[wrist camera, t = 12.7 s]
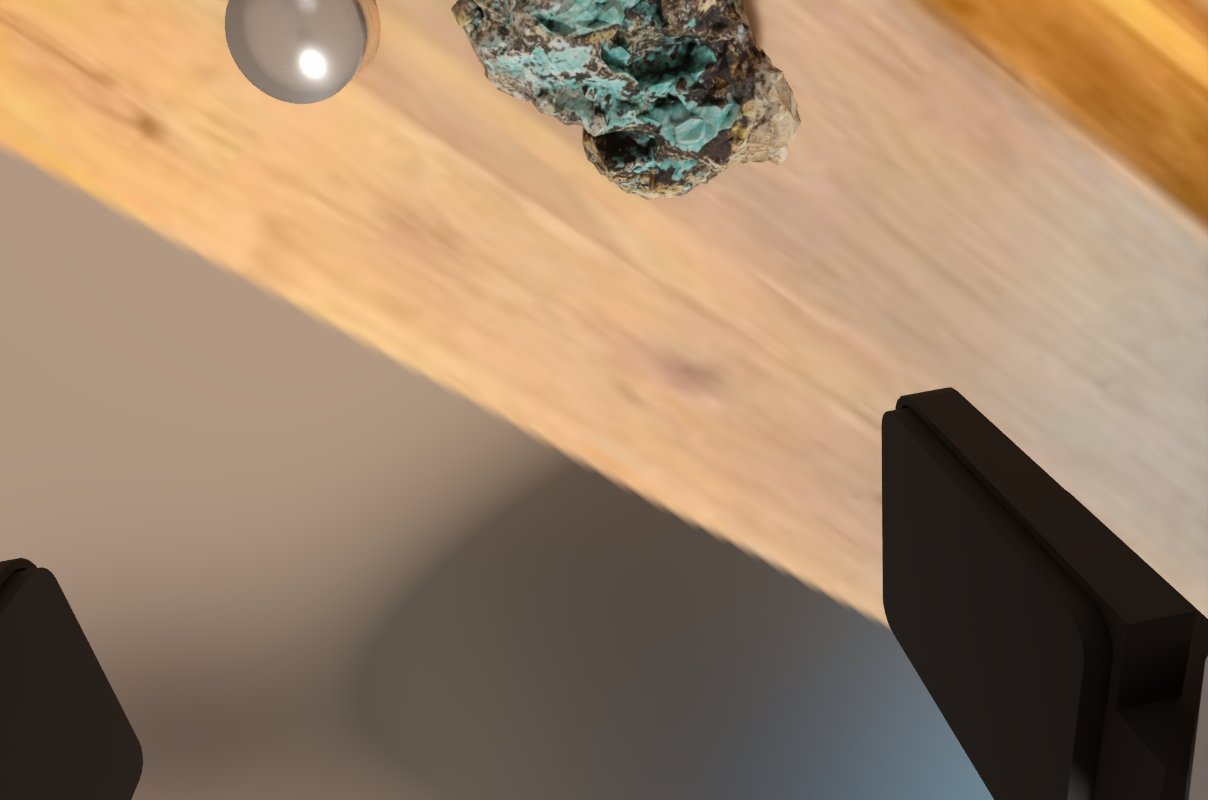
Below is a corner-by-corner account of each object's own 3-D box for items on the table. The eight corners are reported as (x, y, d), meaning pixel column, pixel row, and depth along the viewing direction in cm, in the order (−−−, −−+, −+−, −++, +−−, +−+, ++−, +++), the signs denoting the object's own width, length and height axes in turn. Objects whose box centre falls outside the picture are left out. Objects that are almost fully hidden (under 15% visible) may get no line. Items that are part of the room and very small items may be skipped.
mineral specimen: (416, -17, 32) (457, 83, 27) (606, -231, 30) (693, -167, 24) (627, 180, 41) (690, 287, 35) (791, 27, 38) (887, 118, 32)
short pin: (252, -29, 32) (206, -27, 27) (365, -47, 33) (341, -48, 27) (285, 89, 34) (248, 113, 29) (392, 71, 34) (375, 92, 29)
